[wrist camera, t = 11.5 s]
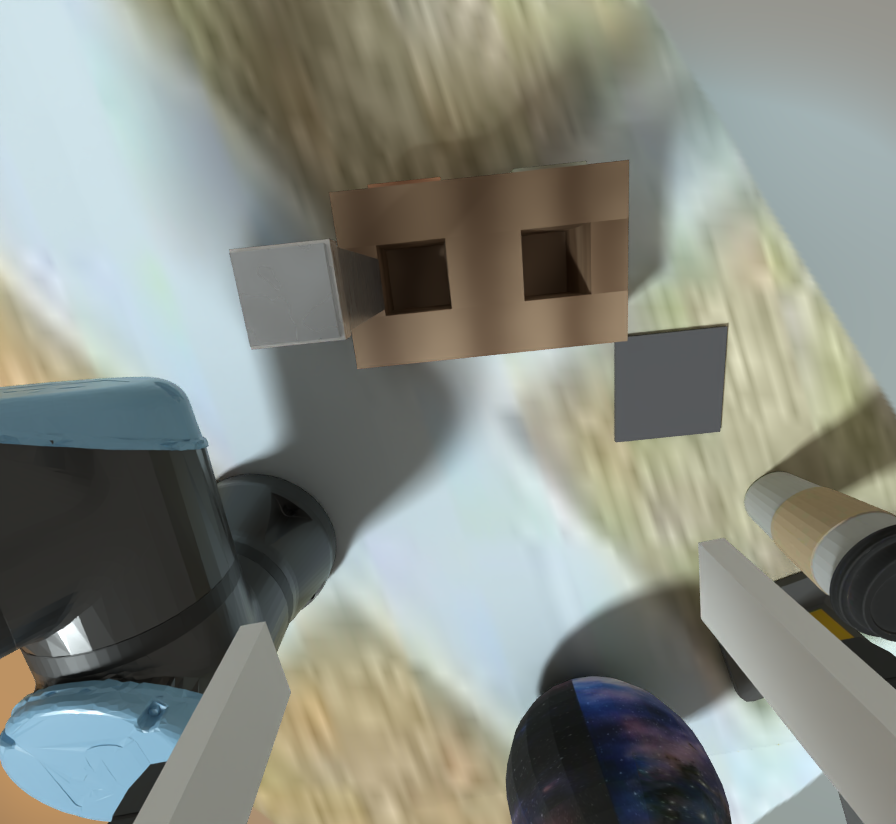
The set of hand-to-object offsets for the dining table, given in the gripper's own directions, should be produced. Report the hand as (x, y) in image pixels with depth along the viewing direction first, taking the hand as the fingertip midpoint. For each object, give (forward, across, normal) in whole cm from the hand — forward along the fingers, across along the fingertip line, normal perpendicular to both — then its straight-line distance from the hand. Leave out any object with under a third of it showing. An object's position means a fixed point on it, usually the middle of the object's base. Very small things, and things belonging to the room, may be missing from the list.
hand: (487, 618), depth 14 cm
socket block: (+30, +4, +10) cm, 32 cm away
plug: (+22, -5, +10) cm, 25 cm away
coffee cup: (+30, +30, -17) cm, 46 cm away
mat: (+30, +20, -4) cm, 36 cm away
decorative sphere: (+30, +8, -40) cm, 51 cm away
